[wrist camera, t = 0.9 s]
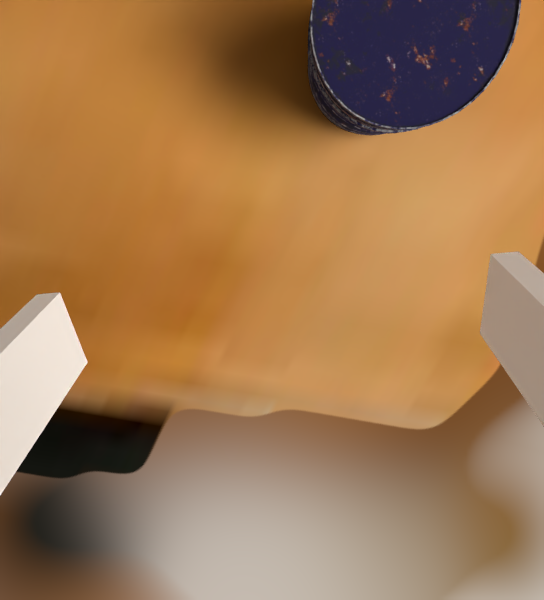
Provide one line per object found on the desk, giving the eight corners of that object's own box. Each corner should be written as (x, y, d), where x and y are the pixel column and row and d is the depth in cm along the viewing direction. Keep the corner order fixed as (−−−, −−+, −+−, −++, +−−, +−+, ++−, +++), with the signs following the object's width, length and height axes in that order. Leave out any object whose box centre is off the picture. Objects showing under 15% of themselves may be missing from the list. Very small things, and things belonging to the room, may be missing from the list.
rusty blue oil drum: (359, 161, 37) (391, 173, 23) (281, 66, 35) (264, 15, 21) (460, 72, 34) (567, 23, 20) (382, -38, 32) (441, -176, 18)
